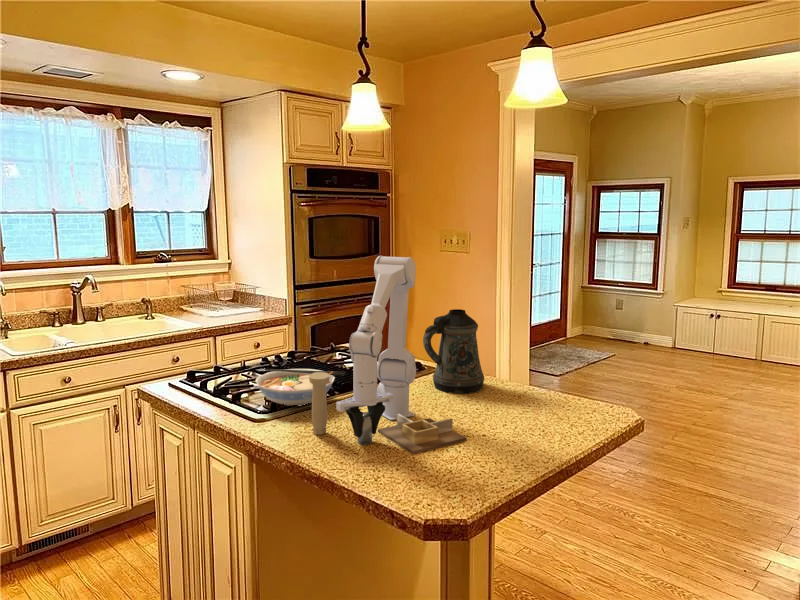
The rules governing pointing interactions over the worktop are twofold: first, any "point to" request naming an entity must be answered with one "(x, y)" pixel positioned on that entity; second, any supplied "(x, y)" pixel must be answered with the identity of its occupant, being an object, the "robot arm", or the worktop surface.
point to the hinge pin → (366, 429)
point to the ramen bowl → (291, 385)
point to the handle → (319, 401)
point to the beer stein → (455, 353)
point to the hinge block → (422, 434)
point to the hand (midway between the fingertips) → (365, 434)
